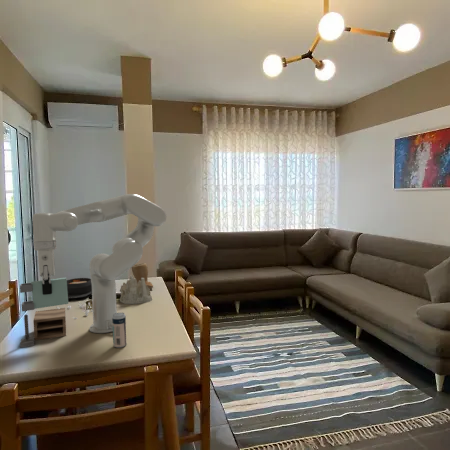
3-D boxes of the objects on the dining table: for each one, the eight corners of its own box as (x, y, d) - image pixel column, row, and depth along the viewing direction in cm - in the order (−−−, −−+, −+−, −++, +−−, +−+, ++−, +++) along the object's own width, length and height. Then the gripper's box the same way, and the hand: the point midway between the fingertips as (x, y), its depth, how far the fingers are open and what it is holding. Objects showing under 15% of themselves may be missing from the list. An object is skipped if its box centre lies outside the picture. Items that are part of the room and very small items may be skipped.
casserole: (65, 290, 213) (64, 276, 212) (98, 288, 217) (97, 275, 217) (55, 302, 189) (55, 287, 188) (93, 300, 193) (92, 284, 192)
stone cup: (131, 285, 223) (131, 262, 222) (151, 284, 226) (150, 260, 225) (132, 292, 208) (132, 266, 207) (153, 290, 212) (152, 265, 211)
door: (23, 308, 135) (20, 282, 135) (68, 301, 142) (66, 277, 141) (22, 311, 132) (19, 284, 131) (68, 304, 138) (66, 279, 137)
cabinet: (25, 331, 148) (23, 304, 147) (65, 325, 154) (64, 299, 153) (20, 347, 132) (18, 317, 131) (66, 340, 139) (64, 311, 138)
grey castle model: (154, 301, 189) (152, 273, 189) (122, 306, 182) (120, 277, 182) (147, 295, 203) (145, 269, 203) (117, 300, 196) (115, 273, 196)
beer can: (129, 345, 133) (128, 313, 132) (117, 349, 130) (116, 317, 129) (122, 342, 136) (121, 311, 135) (110, 346, 133) (109, 314, 132)
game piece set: (102, 312, 173) (102, 304, 172) (61, 324, 157) (61, 315, 157) (81, 305, 185) (81, 297, 185) (41, 315, 170) (41, 307, 169)
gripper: (55, 247, 130) (58, 297, 131) (56, 242, 144) (58, 287, 145) (32, 248, 127) (34, 299, 128) (35, 243, 141) (38, 289, 142)
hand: (47, 292), depth 137 cm, fingers closed on door, 2 cm apart
